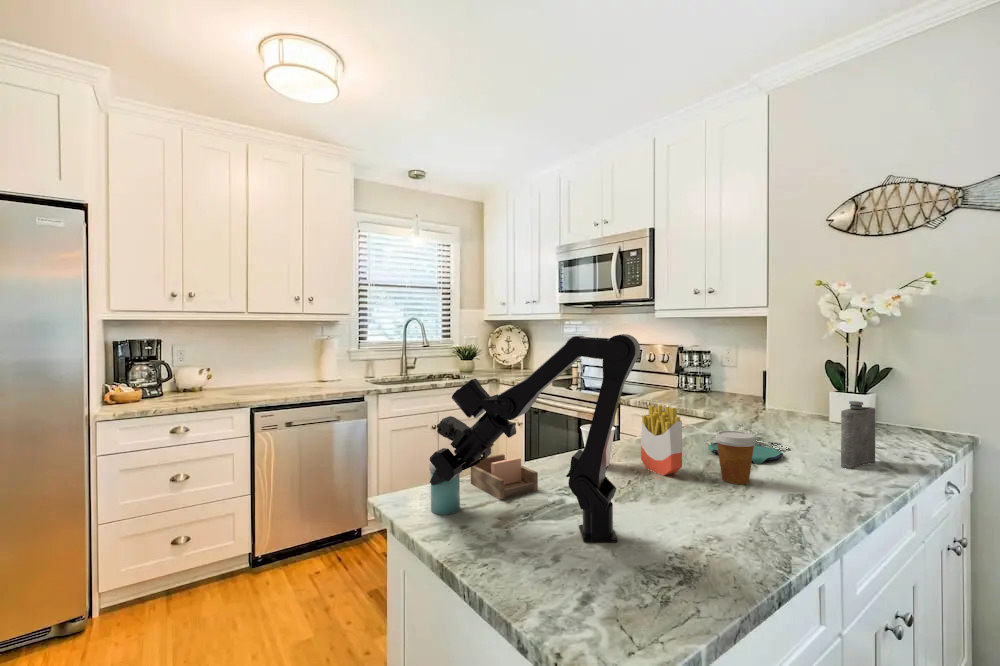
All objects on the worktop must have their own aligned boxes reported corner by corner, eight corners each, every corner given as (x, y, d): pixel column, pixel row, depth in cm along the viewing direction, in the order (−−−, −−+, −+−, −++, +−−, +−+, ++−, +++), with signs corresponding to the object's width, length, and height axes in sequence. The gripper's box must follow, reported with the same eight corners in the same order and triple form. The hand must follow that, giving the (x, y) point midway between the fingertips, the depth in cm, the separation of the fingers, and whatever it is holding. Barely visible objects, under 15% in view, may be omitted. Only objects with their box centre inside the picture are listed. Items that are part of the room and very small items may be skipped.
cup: (616, 471, 130) (616, 432, 130) (580, 469, 132) (579, 430, 132) (615, 461, 140) (614, 424, 140) (581, 459, 142) (581, 423, 142)
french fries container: (670, 478, 124) (669, 410, 123) (639, 468, 133) (639, 404, 133) (682, 476, 126) (682, 409, 125) (651, 465, 135) (651, 403, 135)
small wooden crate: (537, 490, 116) (537, 466, 116) (500, 500, 110) (500, 474, 110) (506, 475, 128) (505, 453, 128) (470, 483, 122) (470, 460, 122)
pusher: (521, 480, 119) (521, 458, 119) (493, 487, 115) (493, 464, 115) (518, 479, 120) (518, 457, 120) (491, 485, 116) (491, 462, 116)
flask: (835, 466, 133) (835, 402, 133) (862, 459, 139) (862, 398, 139) (850, 469, 130) (850, 404, 129) (877, 462, 136) (877, 400, 136)
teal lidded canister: (458, 515, 101) (458, 469, 101) (427, 515, 102) (426, 469, 101) (462, 503, 108) (461, 460, 108) (432, 503, 108) (432, 460, 108)
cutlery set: (696, 453, 148) (696, 446, 148) (744, 440, 166) (744, 433, 166) (762, 469, 132) (762, 461, 132) (807, 453, 150) (807, 446, 150)
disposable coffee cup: (713, 483, 120) (713, 436, 120) (716, 472, 128) (716, 428, 128) (756, 489, 115) (756, 440, 115) (755, 477, 124) (755, 432, 124)
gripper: (478, 399, 111) (439, 441, 116) (437, 413, 94) (392, 462, 99) (509, 435, 108) (467, 477, 113) (472, 456, 91) (425, 504, 96)
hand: (439, 478), depth 105 cm, fingers closed on teal lidded canister, 6 cm apart
